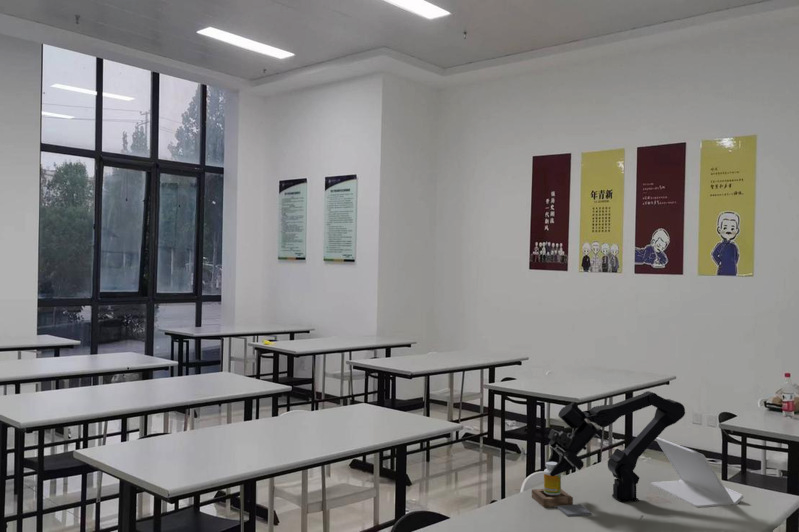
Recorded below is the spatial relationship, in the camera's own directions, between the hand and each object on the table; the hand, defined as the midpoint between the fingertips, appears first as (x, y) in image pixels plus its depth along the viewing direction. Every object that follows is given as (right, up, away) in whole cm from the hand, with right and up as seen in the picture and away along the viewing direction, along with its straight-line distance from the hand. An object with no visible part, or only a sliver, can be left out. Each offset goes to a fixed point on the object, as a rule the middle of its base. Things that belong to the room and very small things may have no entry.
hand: (548, 472), depth 218 cm
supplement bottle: (+1, -7, 0) cm, 7 cm away
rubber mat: (+6, -9, -9) cm, 14 cm away
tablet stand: (+52, -10, +9) cm, 54 cm away
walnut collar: (+1, -9, 0) cm, 9 cm away
